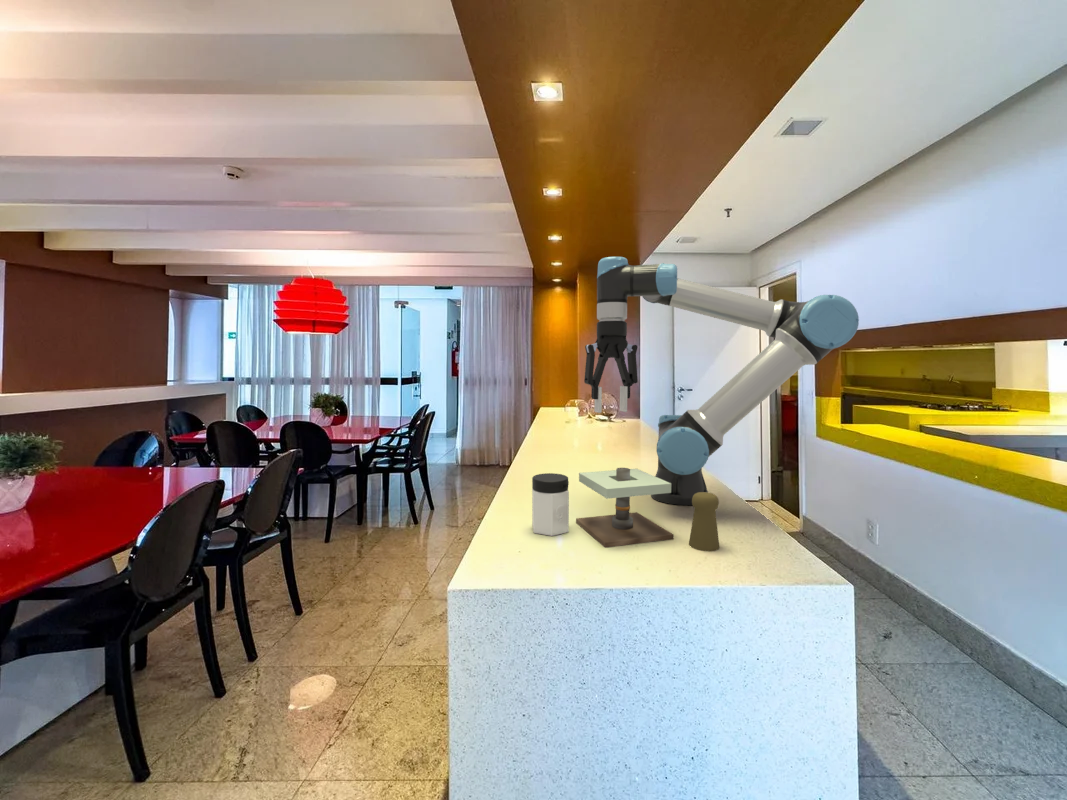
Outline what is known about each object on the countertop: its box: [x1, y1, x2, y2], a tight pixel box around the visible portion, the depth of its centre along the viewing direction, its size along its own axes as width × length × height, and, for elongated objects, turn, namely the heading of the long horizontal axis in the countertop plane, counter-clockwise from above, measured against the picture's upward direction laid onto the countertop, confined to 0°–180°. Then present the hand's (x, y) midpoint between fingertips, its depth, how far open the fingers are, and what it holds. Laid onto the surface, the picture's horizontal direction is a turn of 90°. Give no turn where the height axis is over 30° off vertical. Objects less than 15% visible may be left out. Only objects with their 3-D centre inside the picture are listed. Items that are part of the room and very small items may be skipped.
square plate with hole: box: [578, 468, 671, 500], centre depth 110 cm, size 15×15×2 cm
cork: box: [688, 491, 720, 552], centre depth 101 cm, size 6×6×11 cm
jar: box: [531, 472, 570, 537], centre depth 111 cm, size 9×8×12 cm
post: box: [575, 467, 674, 548], centre depth 110 cm, size 16×16×14 cm
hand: (610, 411), depth 126 cm, fingers open, 6 cm apart
